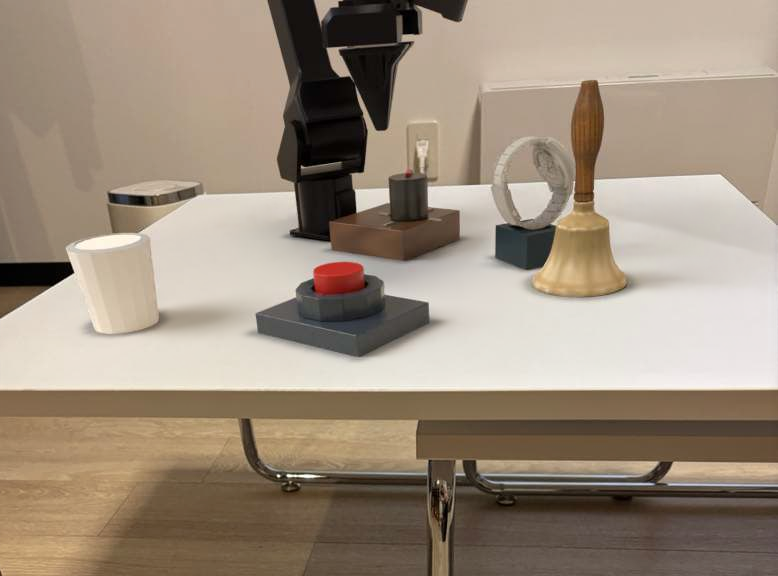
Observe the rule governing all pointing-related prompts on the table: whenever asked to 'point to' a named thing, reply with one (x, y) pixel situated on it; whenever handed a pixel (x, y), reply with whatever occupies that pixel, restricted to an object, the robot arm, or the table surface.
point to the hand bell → (582, 217)
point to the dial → (408, 196)
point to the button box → (343, 318)
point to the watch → (535, 236)
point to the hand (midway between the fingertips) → (382, 130)
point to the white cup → (116, 281)
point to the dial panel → (393, 233)
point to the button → (339, 278)
